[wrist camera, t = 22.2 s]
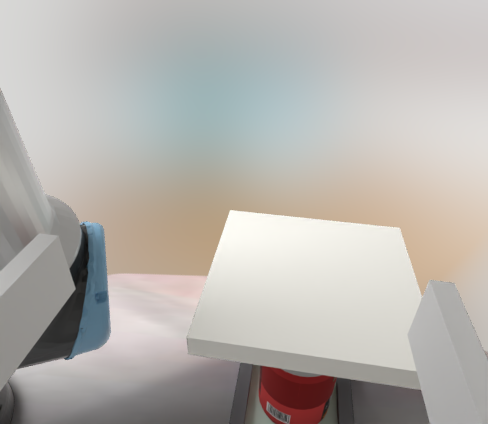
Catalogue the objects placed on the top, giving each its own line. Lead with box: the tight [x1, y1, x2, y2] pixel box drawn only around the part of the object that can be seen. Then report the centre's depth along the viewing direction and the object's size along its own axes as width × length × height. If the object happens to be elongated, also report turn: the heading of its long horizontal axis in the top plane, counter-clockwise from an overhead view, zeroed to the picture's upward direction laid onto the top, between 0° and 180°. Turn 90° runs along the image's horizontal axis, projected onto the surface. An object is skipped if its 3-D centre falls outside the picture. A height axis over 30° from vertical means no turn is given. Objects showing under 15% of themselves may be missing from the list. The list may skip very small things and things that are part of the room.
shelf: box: [187, 210, 422, 390], centre depth 38 cm, size 17×18×19 cm
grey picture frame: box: [229, 363, 354, 424], centre depth 42 cm, size 13×13×2 cm
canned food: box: [259, 365, 337, 424], centre depth 40 cm, size 8×8×11 cm
